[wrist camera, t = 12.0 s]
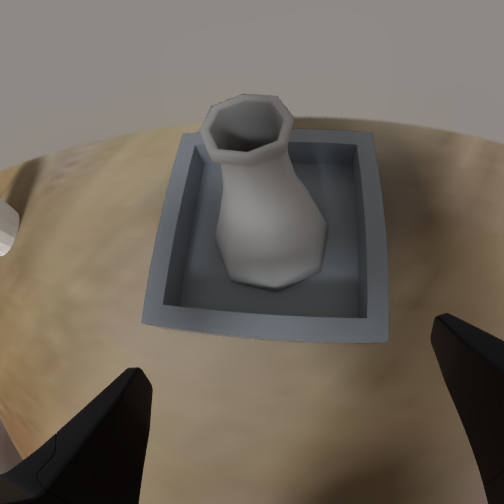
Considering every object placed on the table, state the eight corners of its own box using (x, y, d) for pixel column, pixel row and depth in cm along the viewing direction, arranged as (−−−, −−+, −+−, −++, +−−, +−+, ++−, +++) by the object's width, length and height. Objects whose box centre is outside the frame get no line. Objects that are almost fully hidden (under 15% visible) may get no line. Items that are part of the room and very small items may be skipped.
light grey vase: (215, 193, 20) (159, 83, 11) (319, 181, 19) (327, 57, 10) (216, 297, 17) (131, 234, 8) (337, 285, 17) (383, 205, 7)
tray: (373, 343, 16) (388, 341, 13) (163, 328, 18) (141, 323, 15) (364, 158, 20) (371, 132, 17) (195, 157, 22) (182, 133, 19)
